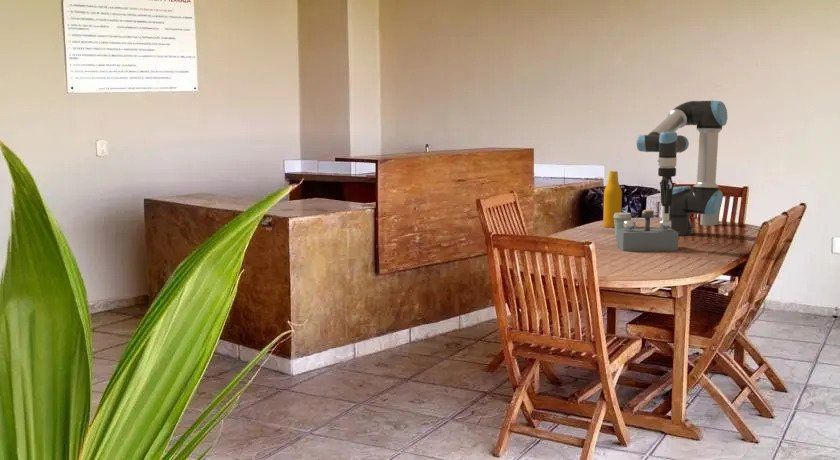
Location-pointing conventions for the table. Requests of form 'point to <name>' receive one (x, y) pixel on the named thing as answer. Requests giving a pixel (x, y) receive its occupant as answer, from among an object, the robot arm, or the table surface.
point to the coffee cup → (621, 220)
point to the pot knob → (647, 218)
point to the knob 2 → (665, 225)
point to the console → (647, 240)
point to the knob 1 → (629, 225)
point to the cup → (709, 219)
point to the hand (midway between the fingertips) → (665, 220)
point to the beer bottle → (612, 199)
